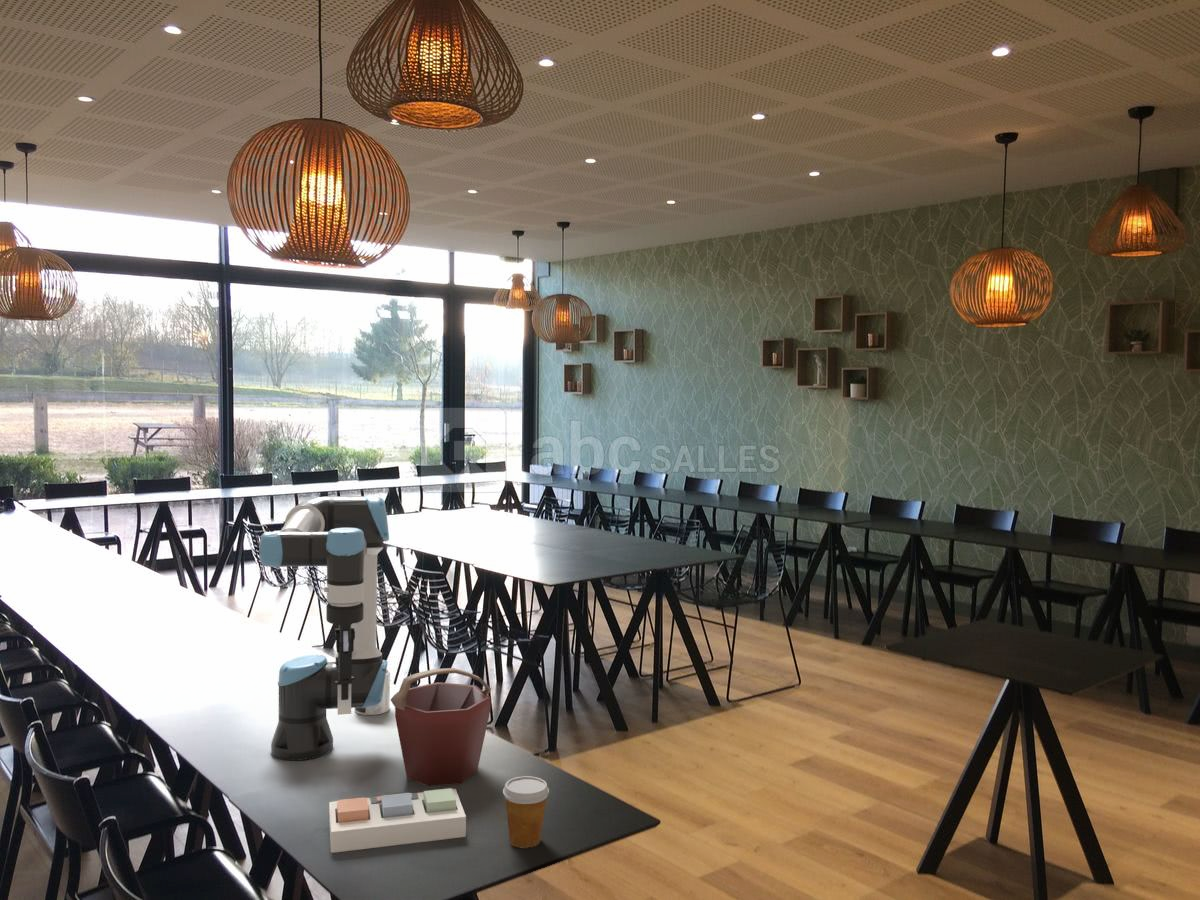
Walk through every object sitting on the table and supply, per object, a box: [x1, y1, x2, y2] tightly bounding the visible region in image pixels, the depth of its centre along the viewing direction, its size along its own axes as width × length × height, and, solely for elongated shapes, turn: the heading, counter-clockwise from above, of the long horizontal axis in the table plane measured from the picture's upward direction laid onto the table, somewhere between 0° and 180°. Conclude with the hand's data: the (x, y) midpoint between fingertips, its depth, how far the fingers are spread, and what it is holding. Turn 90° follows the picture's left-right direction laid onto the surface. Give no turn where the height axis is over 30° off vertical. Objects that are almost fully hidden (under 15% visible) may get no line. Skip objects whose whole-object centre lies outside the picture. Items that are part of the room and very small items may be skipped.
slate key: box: [380, 792, 413, 818], centre depth 198 cm, size 6×6×2 cm
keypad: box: [328, 788, 467, 854], centre depth 198 cm, size 14×27×5 cm, turn 107°
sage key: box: [423, 787, 456, 813], centre depth 201 cm, size 6×6×2 cm
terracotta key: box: [337, 796, 368, 823], centre depth 195 cm, size 6×6×2 cm
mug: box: [354, 668, 391, 716], centre depth 270 cm, size 10×12×11 cm
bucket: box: [390, 667, 492, 787], centre depth 228 cm, size 24×22×25 cm
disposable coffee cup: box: [502, 775, 550, 849], centre depth 194 cm, size 10×10×12 cm
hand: (344, 712), depth 198 cm, fingers closed
